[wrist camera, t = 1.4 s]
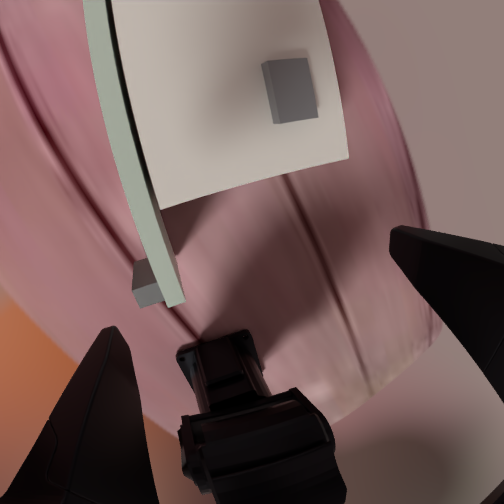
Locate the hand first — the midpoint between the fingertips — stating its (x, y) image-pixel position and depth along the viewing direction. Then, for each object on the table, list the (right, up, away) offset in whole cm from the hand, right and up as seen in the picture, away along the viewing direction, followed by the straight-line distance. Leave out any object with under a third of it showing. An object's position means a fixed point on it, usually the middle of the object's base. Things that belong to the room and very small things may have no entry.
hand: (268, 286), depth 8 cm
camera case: (-3, +13, +7) cm, 15 cm away
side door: (-9, +8, +7) cm, 14 cm away
